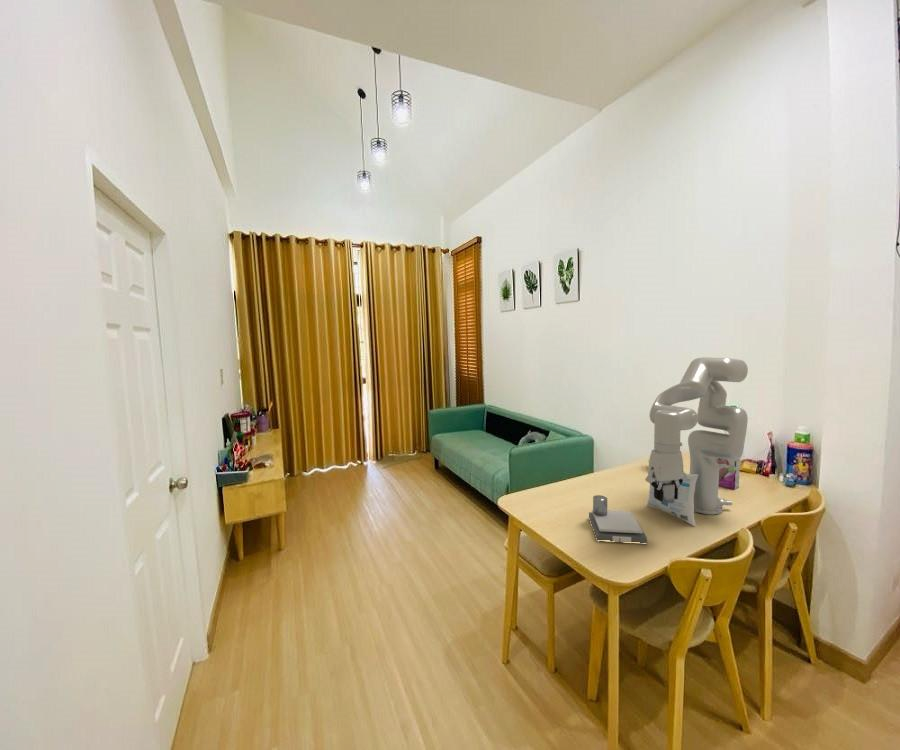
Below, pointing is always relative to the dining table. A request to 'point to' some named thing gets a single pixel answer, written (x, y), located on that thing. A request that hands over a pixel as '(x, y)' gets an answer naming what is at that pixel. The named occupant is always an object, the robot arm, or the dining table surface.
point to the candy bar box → (728, 473)
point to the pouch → (678, 500)
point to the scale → (617, 527)
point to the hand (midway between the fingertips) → (665, 497)
